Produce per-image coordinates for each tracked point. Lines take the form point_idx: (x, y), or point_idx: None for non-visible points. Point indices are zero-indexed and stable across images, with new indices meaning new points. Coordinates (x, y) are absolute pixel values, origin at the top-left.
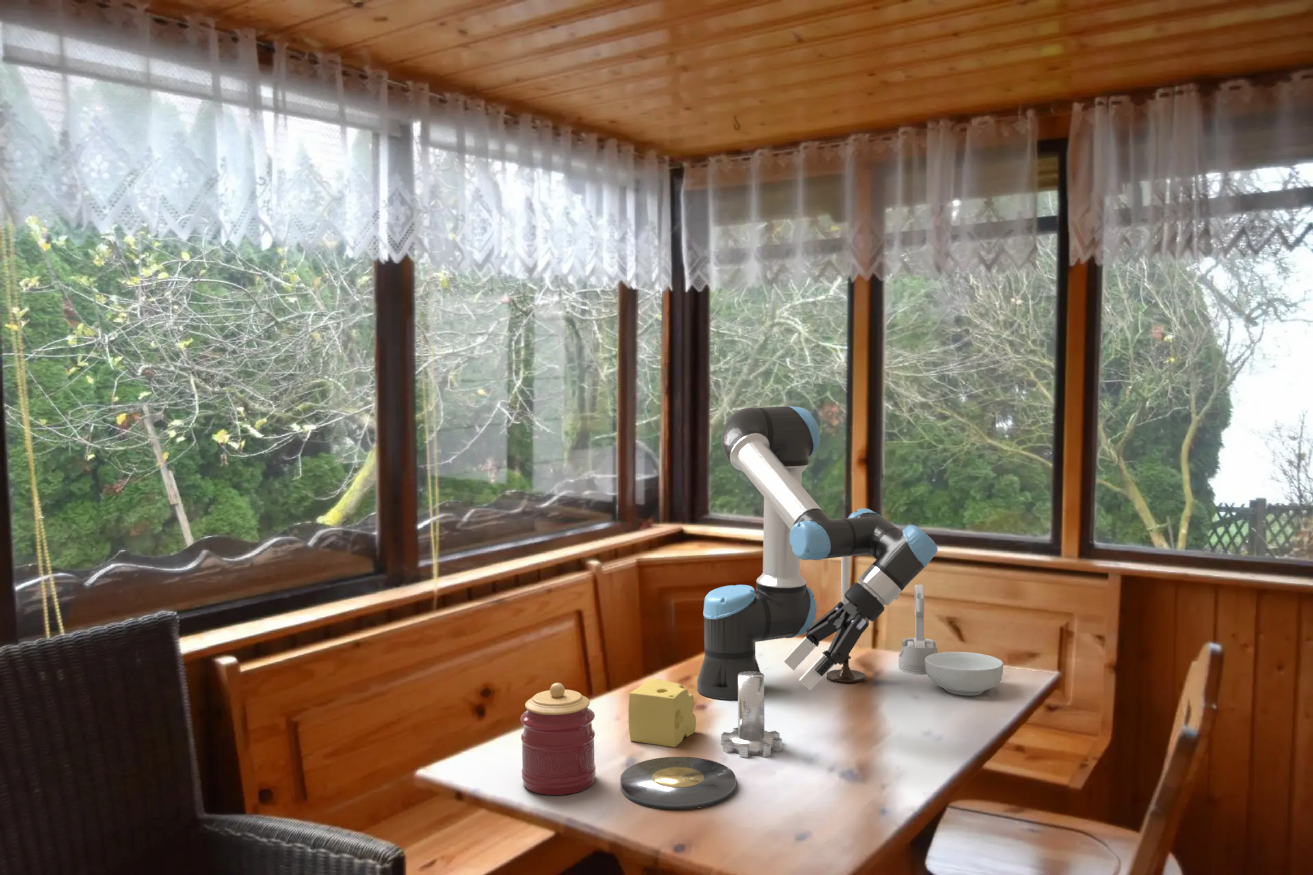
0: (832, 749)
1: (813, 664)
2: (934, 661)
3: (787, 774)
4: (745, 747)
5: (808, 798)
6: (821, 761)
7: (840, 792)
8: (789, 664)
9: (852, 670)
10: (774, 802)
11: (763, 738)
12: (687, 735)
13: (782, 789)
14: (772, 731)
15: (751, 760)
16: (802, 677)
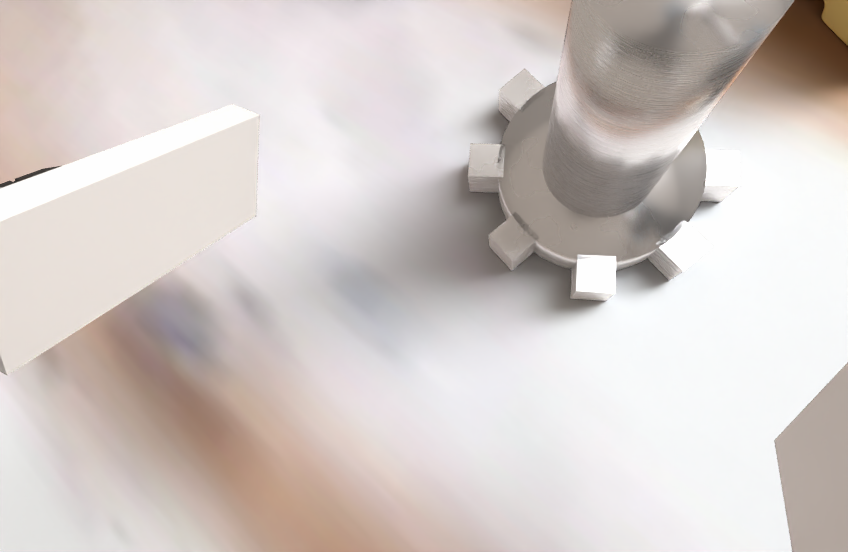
0: (399, 443)
1: (112, 170)
2: None
3: (299, 147)
4: (504, 85)
5: (125, 101)
6: (324, 320)
7: None
8: (818, 404)
9: None
10: (163, 7)
11: (552, 193)
12: (824, 16)
13: (217, 71)
14: (611, 276)
15: (469, 110)
16: (216, 116)
